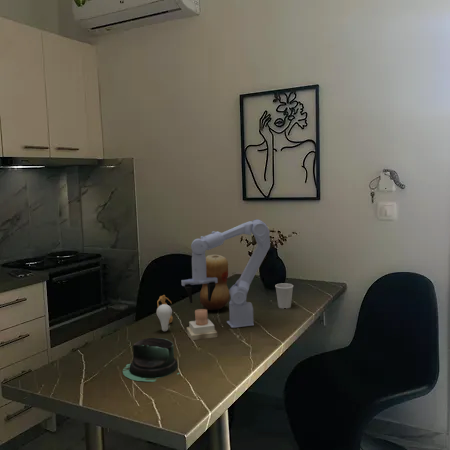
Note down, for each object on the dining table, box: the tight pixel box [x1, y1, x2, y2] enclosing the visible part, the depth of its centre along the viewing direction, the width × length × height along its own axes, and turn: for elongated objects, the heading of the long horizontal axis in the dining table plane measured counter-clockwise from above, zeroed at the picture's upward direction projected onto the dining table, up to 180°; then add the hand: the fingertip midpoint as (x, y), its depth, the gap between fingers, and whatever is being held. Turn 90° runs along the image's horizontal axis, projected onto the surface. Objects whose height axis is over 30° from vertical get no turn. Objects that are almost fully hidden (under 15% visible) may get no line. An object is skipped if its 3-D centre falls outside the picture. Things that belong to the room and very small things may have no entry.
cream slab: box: [188, 318, 216, 334], centre depth 184 cm, size 8×8×2 cm
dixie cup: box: [274, 282, 294, 310], centre depth 216 cm, size 8×8×10 cm
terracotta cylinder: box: [194, 308, 209, 325], centre depth 183 cm, size 5×5×5 cm
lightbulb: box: [156, 303, 173, 332], centre depth 188 cm, size 6×6×11 cm
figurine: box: [156, 294, 174, 324], centre depth 198 cm, size 8×6×12 cm
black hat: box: [122, 337, 180, 383], centre depth 153 cm, size 20×20×9 cm
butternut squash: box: [199, 253, 230, 311], centre depth 214 cm, size 14×13×25 cm
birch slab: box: [186, 326, 218, 341], centre depth 184 cm, size 10×10×2 cm
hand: (200, 301), depth 192 cm, fingers open, 7 cm apart
